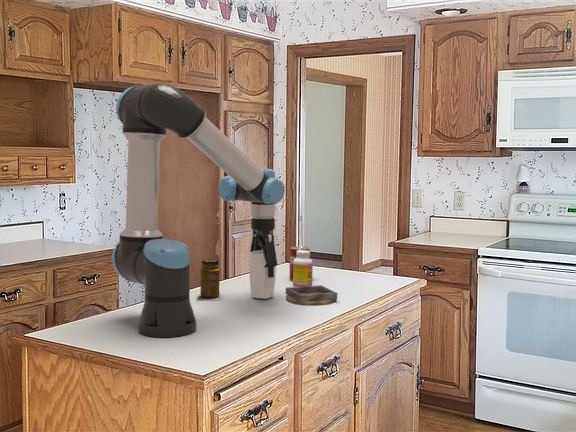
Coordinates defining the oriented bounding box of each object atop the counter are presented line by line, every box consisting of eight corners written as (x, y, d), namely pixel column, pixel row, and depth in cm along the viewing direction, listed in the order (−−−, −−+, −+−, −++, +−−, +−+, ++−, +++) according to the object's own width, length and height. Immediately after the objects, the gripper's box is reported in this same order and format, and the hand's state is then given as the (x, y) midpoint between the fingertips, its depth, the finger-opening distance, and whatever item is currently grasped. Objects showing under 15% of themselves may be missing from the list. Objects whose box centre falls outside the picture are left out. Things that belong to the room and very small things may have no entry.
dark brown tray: (297, 307, 206) (297, 297, 206) (278, 295, 221) (279, 286, 221) (344, 303, 212) (344, 293, 212) (323, 292, 227) (324, 283, 227)
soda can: (309, 282, 244) (310, 249, 243) (289, 282, 244) (289, 249, 243) (309, 278, 251) (309, 246, 250) (289, 278, 251) (289, 246, 250)
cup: (257, 294, 223) (258, 249, 222) (277, 296, 220) (278, 251, 218) (246, 298, 217) (247, 252, 215) (267, 301, 213) (267, 254, 212)
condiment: (221, 294, 222) (221, 258, 221) (219, 300, 214) (219, 263, 213) (199, 294, 222) (199, 258, 221) (196, 300, 214) (196, 262, 213)
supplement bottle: (309, 290, 230) (310, 253, 229) (290, 289, 232) (291, 252, 230) (314, 286, 236) (314, 250, 235) (295, 285, 238) (296, 249, 237)
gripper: (288, 221, 205) (287, 290, 208) (261, 213, 228) (261, 275, 231) (264, 222, 203) (264, 291, 205) (240, 213, 226) (240, 276, 228)
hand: (262, 283), depth 218 cm, fingers open, 13 cm apart
